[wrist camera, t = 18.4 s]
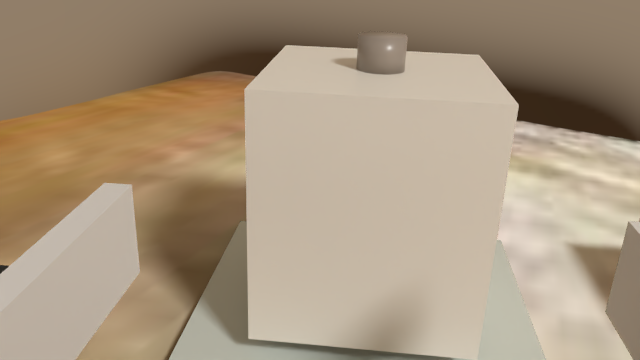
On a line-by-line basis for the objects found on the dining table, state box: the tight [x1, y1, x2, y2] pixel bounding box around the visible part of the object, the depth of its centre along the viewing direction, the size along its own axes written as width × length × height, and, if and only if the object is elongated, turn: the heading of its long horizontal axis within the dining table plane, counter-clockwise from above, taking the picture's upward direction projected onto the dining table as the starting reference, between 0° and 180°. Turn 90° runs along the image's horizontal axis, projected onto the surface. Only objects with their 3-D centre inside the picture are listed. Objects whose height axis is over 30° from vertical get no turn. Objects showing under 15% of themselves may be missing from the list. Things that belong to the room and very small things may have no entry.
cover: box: [245, 32, 519, 360], centre depth 27 cm, size 9×9×13 cm
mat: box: [169, 221, 546, 360], centre depth 29 cm, size 16×16×1 cm
